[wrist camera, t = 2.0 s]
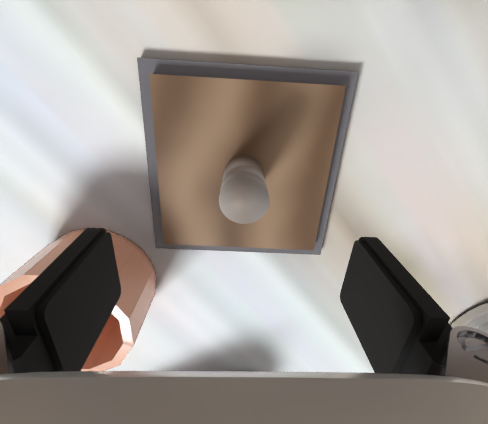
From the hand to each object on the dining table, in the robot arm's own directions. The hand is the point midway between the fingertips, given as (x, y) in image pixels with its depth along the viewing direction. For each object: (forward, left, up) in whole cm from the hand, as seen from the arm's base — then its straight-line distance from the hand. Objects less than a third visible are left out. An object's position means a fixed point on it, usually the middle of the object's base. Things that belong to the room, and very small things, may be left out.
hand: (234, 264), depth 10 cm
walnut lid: (0, 0, -14) cm, 13 cm away
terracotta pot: (+14, +12, -14) cm, 23 cm away
